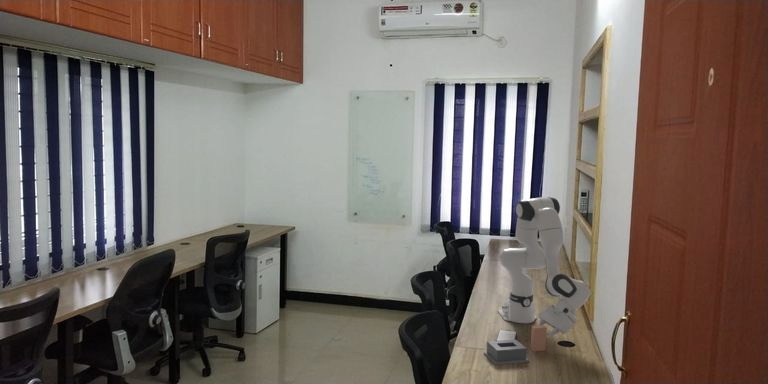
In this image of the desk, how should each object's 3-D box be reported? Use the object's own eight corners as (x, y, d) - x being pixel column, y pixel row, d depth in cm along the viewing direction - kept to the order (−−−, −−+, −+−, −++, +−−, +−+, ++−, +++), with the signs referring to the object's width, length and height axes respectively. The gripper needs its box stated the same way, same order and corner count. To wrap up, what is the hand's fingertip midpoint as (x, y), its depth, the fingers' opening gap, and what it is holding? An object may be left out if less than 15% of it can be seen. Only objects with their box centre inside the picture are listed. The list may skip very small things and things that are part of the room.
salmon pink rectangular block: (530, 348, 248) (531, 325, 247) (542, 348, 249) (543, 325, 248) (533, 351, 245) (534, 328, 244) (545, 350, 246) (546, 327, 245)
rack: (483, 353, 241) (484, 340, 240) (516, 351, 244) (516, 338, 244) (495, 364, 229) (495, 351, 229) (529, 362, 233) (529, 348, 232)
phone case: (514, 346, 252) (517, 334, 267) (514, 343, 251) (517, 331, 266) (495, 344, 254) (499, 332, 269) (495, 340, 254) (499, 329, 269)
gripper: (547, 299, 257) (528, 320, 256) (571, 313, 237) (551, 335, 236) (555, 308, 259) (536, 328, 257) (580, 322, 239) (559, 344, 237)
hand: (543, 332), depth 246 cm, fingers open, 8 cm apart
